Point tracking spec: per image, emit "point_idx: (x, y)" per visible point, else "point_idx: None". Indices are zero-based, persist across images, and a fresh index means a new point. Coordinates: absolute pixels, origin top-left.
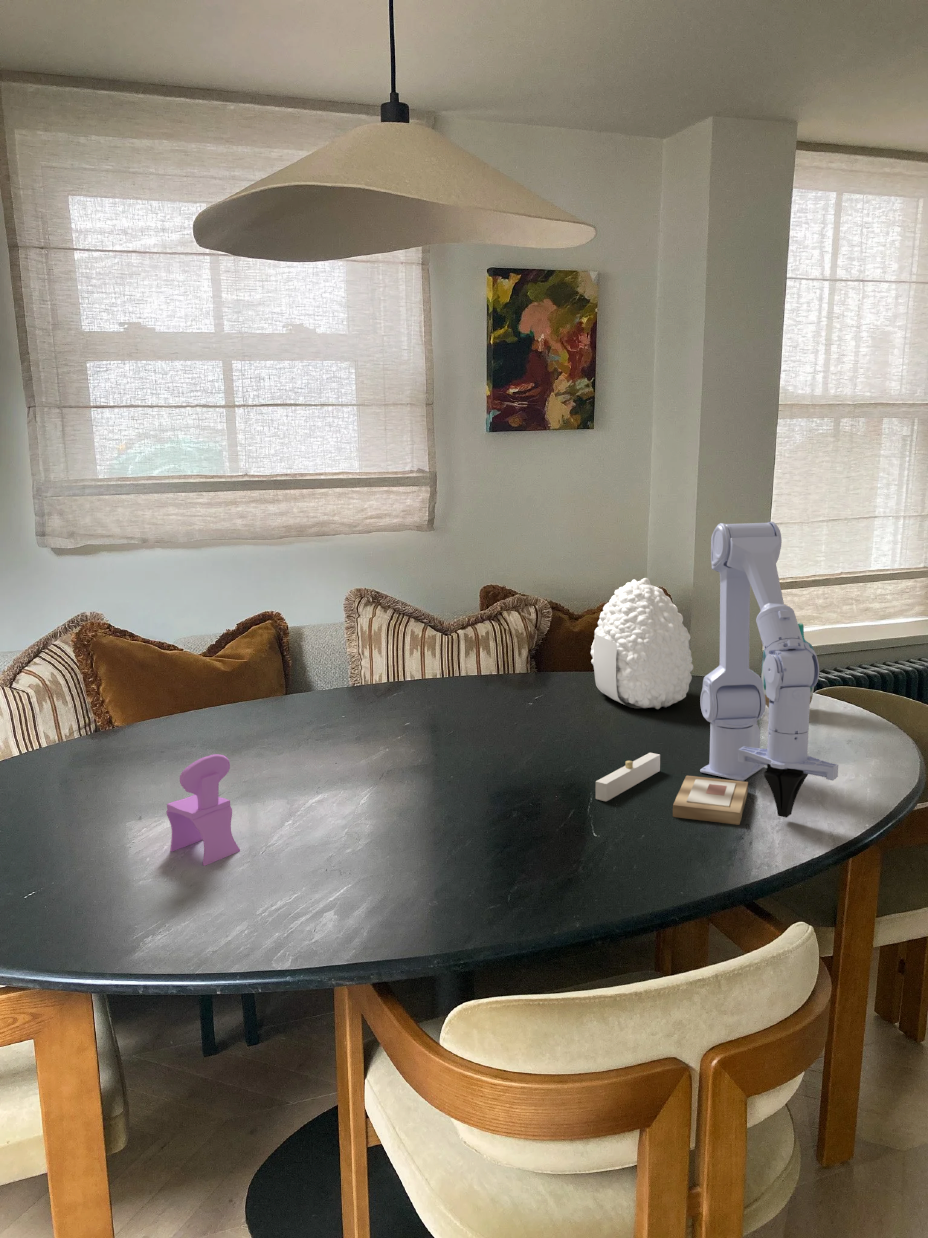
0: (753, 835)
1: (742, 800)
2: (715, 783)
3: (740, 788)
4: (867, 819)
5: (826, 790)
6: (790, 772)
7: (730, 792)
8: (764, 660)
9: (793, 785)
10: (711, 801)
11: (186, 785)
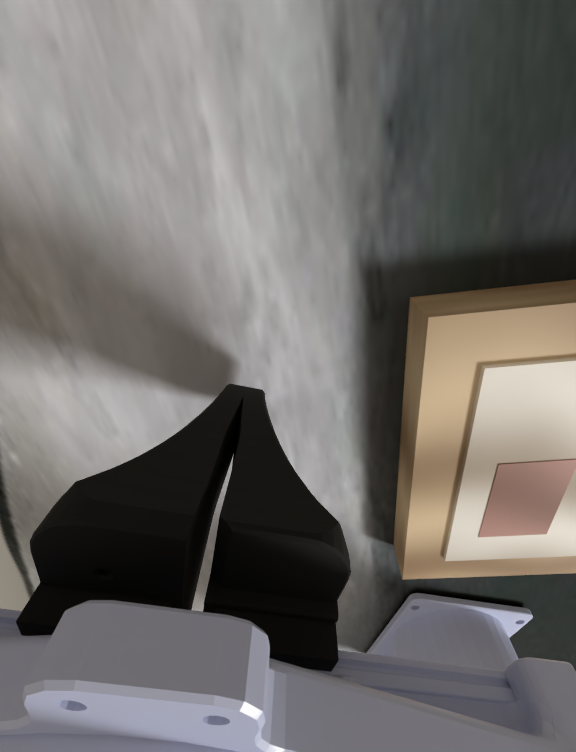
0: (338, 195)
1: (418, 451)
2: (520, 544)
3: (427, 537)
4: (35, 491)
5: (202, 599)
6: (137, 602)
7: (468, 496)
8: None
9: (105, 473)
10: (569, 388)
11: None
